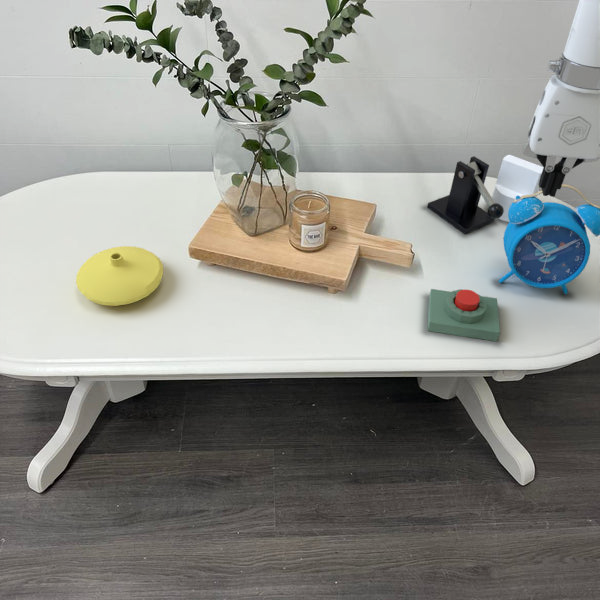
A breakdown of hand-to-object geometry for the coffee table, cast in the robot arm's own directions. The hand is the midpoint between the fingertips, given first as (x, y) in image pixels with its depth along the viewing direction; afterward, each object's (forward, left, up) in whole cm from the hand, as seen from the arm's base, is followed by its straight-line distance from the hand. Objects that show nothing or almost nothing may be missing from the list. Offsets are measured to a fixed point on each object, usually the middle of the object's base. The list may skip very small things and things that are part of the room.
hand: (547, 191), depth 89 cm
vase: (+71, +9, -26) cm, 76 cm away
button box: (+8, +4, -25) cm, 27 cm away
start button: (+8, +4, -22) cm, 24 cm away
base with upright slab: (-3, -34, -26) cm, 43 cm away
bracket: (+8, -30, -25) cm, 40 cm away
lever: (+5, -27, -18) cm, 33 cm away
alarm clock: (-6, -10, -26) cm, 28 cm away
